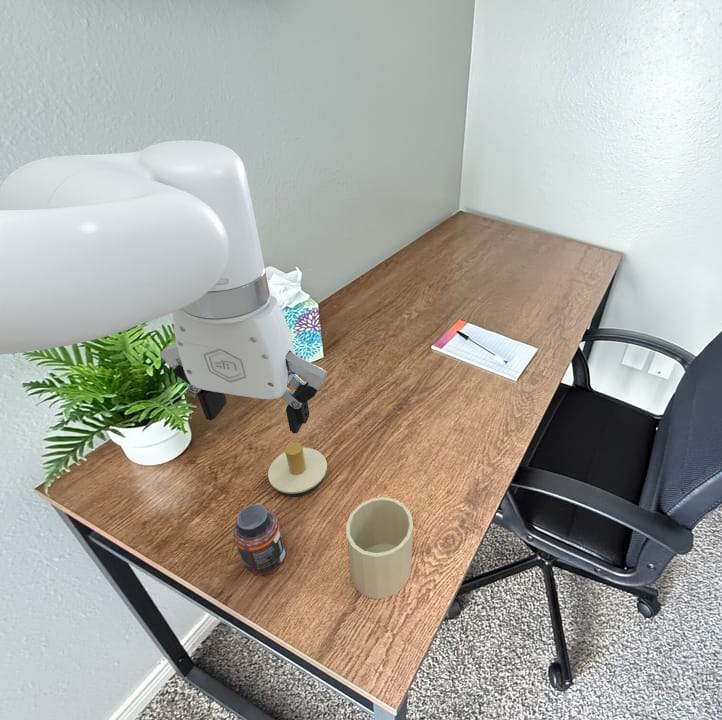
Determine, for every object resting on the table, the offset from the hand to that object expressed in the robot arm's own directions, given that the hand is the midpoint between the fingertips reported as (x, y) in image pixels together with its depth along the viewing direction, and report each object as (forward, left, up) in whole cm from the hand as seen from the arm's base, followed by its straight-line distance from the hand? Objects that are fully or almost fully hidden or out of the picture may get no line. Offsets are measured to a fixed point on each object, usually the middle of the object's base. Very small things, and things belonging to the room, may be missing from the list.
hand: (258, 417), depth 53 cm
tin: (+13, -5, -30) cm, 33 cm away
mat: (0, +15, -30) cm, 34 cm away
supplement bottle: (-4, 0, -31) cm, 31 cm away
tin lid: (0, +15, -29) cm, 33 cm away
